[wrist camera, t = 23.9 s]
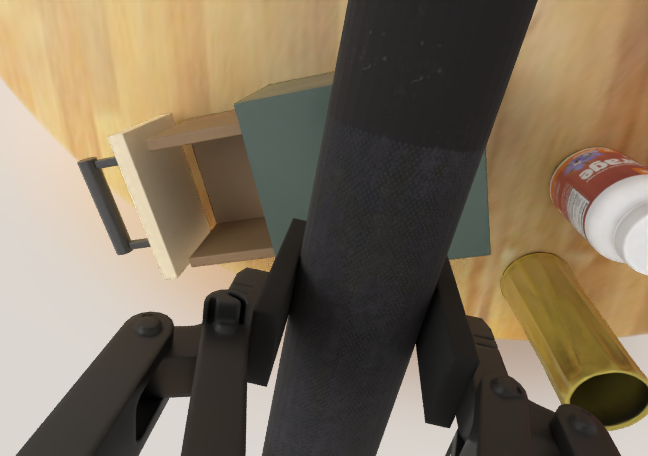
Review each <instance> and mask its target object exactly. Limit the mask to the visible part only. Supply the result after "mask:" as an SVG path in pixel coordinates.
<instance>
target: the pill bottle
mask: <svg viewBox="0 0 648 456" xmlns="http://www.w3.org/2000/svg"><path fill="white" fill-rule="evenodd" d="M550 197H551V200H552V202H553V204H554V206H555V207H556V208H557V209H558V211H559V212H560V213H561V214H562V215H563V216H564V217H565V218H566V219H567V220H568V221H569V222H570V223H571V224H572V225H573V226H574V228H575V229H576V230H577V231H578V232H579V233H580V234H581V235H582V236H583V237H584V238H585V239H586V240H587V241H588V243H589V244H590V245H591V246H592V247H593V248H594V249H595V250H596V251H597V252H598V253H600V254H601V255H602V256H604V257H606V258H608V259H610V260H613V261H616V262H620V263H626V264H627V265H629V266H630V267H631V268H632V269H634V270H635V271H637V272H639V273H641V274H645V275H648V168H647V167H645V166H643V165H641V164H639V163H638V162H636V161H634V160H632V159H630V158H629V157H627V156H625V155H623V154H621V153H619V152H617V151H615V150H613V149H609V148H604V147H593V148H587V149H584V150H581V151H578V152H576V153H574V154H572V155H571V156H569V157H568V158H566V159H565V160H564V161H563V162H562V163H561V164H560V165H559V166H558V167H557V169H556V170H555V172H554V173H553V176H552V178H551V182H550Z"/></svg>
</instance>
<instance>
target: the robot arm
mask: <svg viewBox="0 0 648 456" xmlns="http://www.w3.org/2000/svg"><path fill="white" fill-rule="evenodd" d="M305 226H306V221H305V220H300V219H296V218H293V220H292V222H291V224H290V226H289V229H288V231H287V233H286V236H285V238H284V240H283V243H282V245H281V247H280V250H279V252H278V254H277V256H276V259H275V261H274V263H273V266H272V268H271V270H270V272H265V271H261V270H256V269H252V268H245V269H244V270H242V271H241V272H239V273H237V275H236V277H235V279H234V281H233V283H232V284H231V286H230V288H229V289H228V290H218V291H215V292H212V293H211V294H209V295H208V296H207V297H206V299H205V301H204V310H203V322H202V324H199V325H195V326H174V324H173V321H172V319H170V318H169V317H168V316H167V315H165V314H162V313H159V312H158V313H157V312H145V313H140V314H137V315H135V316H132V317H131V318H130V319H129V320H127V321H126V322H125V323H124V325H123V326H122V327H121V328H120V330H119V331H118V332H117V333H116V334H115V336H114V337H113V338H112V339H111V340H110V342H109V343H108V344H107V345H106V347H105V348H104V349H103V350H102V352H101V353H100V354H99V355H98V356H97V357H96V359H95V360H94V361H93V362H92V364H91V365H90V366H89V367H88V368H87V370H86V371H85V372H84V373H83V374H82V376H81V377H80V378H79V379H78V381H77V382H76V383H75V384H74V385H73V387H72V388H71V389H70V390H69V392H68V393H67V394H66V395H65V396H64V398H63V399H62V400H61V401H60V402H59V404H58V405H57V406H56V407H55V408H54V410H53V411H52V412H51V413H50V415H49V416H48V417H47V418H46V419H45V421H44V422H43V423H42V424H41V425H40V427H39V428H38V429H37V430H36V432H35V433H34V434H33V435H32V436H31V438H30V439H29V440H28V441H27V442H26V444H25V445H24V446H23V447H22V449H21V450H20V451H19V452H18V454H17V455H16V456H139V454H140V452H141V450H142V448H143V446H144V444H145V442H146V441H147V439H148V437H149V435H150V433H151V431H152V429H153V428H154V426H155V424H156V422H157V420H158V418H159V417H160V415H161V413H162V411H163V409H164V407H165V405H166V403H167V402H168V400H169V398H170V397H190V396H191V397H190V404H189V409H188V415H187V422H186V428H185V434H184V440H183V446H182V453H181V456H245V453H246V407H247V406H246V405H247V404H246V403H247V382H248V383H253V384H257V385H261V386H267V384H268V381H269V377H270V374H271V371H272V368H273V364H274V361H275V358H276V355H277V351H278V348H279V345H280V341H281V338H282V335H283V331H284V328H285V325H286V322H287V318H288V315H289V311H290V305H291V300H292V295H293V290H294V284H295V279H296V274H297V268H298V263H299V258H300V253H301V247H302V242H303V237H304V232H305ZM494 340H495V339H494V336H493V333H492V331H491V329H490V327H489V326H488V325H487V324H486V323H485V322H484V321H483V319H481V318H477V317H472V316H468V315H466V314H465V311H464V308H463V304H462V301H461V298H460V295H459V291H458V288H457V285H456V282H455V278H454V275H453V272H452V268H451V265H450V262H449V259H448V255H447V257H446V259H445V262H444V265H443V268H442V271H441V273H440V276H439V279H438V282H437V285H436V288H435V290H434V293H433V296H432V299H431V302H430V304H429V307H428V310H427V313H426V316H425V318H424V321H423V324H422V327H421V330H420V333H419V335H418V338H417V341H416V350H417V358H418V366H419V374H420V382H421V390H422V399H423V407H424V414H425V423H428V424H433V425H437V426H442V427H447V428H450V427H451V424H452V422H453V420H454V418H455V416H456V418H457V423H458V429H457V431H456V434H455V436H454V438H453V440H452V442H451V444H450V447H449V449H448V451H447V453H446V455H445V456H450V454H451V456H621V455H620V453H619V451H618V449H617V447H616V446H615V444H614V442H613V440H612V438H611V437H610V435H609V433H608V431H607V429H606V428H605V427H604V425H603V424H602V423H601V421H600V420H599V419H597V418H596V417H595V416H594V415H593V414H592V413H590V412H588V411H587V410H585V409H583V408H581V407H578V406H576V405H573V404H563V405H560V406H559V407H558V409H557V410H556V412H553V411H551V410H549V409H546V408H544V407H542V406H540V405H538V404H536V403H534V402H532V401H530V400H528V397H527V394H526V391H525V390H524V388H523V387H522V386H521V384H520V383H518V382H517V381H516V380H515V379H513V378H512V377H510V376H508V373H507V371H506V368H505V365H504V363H503V360H502V357H501V355H500V352H499V350H498V347H497V344H496V342H495V341H494Z"/></svg>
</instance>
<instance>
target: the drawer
mask: <svg viewBox="0 0 648 456" xmlns="http://www.w3.org/2000/svg"><path fill="white" fill-rule="evenodd" d="M107 138H108V140H109V143H110V145H111V148H112V150H113V153H114V155H115V157H110V158H104V159H99V160H98V159H97V158H96V157H91V158H86V159H83V160H80V161H78V166H79V168H80V170H81V173H82V174H83V177H84V180H85V182H86V184H87V186H88V189H89V191H90V193H91V196H92V198H93V200H94V202H95V205H96V207H97V209H98V212H99V214H100V216H101V219H102V221H103V223H104V225H105V228H106V230H107V232H108V234H109V237H110V239H111V241H112V244H113V246H114V248H115V250H116V253H117V254H118V255H123V254H127V253H129V252H131V251H132V250H133V249H138V248H145V247H151V248H152V251H153V253H154V256H155V258H156V261H157V263H158V266H159V268H160V271H161V273H162V275H163V278H164V280H167V279H175V278H178V277H179V276H180V275H181V273H182V272H183V271H184V270H185V268H186V267H187V266H188V265H189V263H190V264H191V266H192V267H197V266H205V265H213V264H221V263H229V262H237V261H245V260H253V259H261V258H269V257H275V254H274V250H273V246H272V243H271V239H270V235H269V232H268V228H267V224H266V221H265V217H264V213H263V210H262V206H261V202H260V199H259V195H258V191H257V188H256V184H255V180H254V177H253V173H252V169H251V166H250V162H249V158H248V155H247V151H246V147H245V144H244V140H243V136H242V133H241V129H240V125H239V122H238V118H237V114H236V111H235V110H232V111H227V112H222V113H217V114H211V115H206V116H201V117H196V118H191V119H187V120H185V121H183V122H181V123H179V124H177V125H175V122H174V119H173V116H172V113H168V114H163V115H159V116H156V117H154V118H151V119H149V120H146V121H144V122H142V123H139V124H137V125H134V126H132V127H129V128H127V129H125V130H122V131H120V132H117V133H115V134H112V135H110V136H108V137H107ZM186 144H192V147H193V150H194V153H195V156H196V160H197V163H198V166H199V169H200V172H201V175H202V178H203V181H204V184H205V187H206V191H207V194H208V197H209V200H210V203H211V206H212V209H213V212H214V215H215V219H216V222H217V224H216V225H215V227H214V228H213V229H212V230H211V231H210V228H209V225H208V221H207V218H206V215H205V212H204V209H203V206H202V203H201V200H200V197H199V194H198V191H197V188H196V185H195V182H194V179H193V176H192V173H191V170H190V167H189V164H188V161H187V158H186V155H185V152H184V149H183V146H182V145H186ZM117 165H119V168H120V170H121V173H122V175H123V178H124V180H125V183H126V185H127V188H128V191H129V193H130V196H131V198H132V201H133V203H134V206H135V208H136V211H137V213H138V215H139V218H140V221H141V223H142V226H143V228H144V231H145V233H146V236H147V238H146V239H139V240H132V241H131V239H130V237H129V234H128V232H127V229H126V227H125V224H124V222H123V220H122V217H121V215H120V212H119V210H118V208H117V205H116V203H115V200H114V198H113V196H112V193H111V191H110V188H109V186H108V184H107V181H106V179H105V176H104V174H103V171H102V169H101V168H105V167H111V166H117Z"/></svg>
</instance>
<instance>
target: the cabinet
mask: <svg viewBox="0 0 648 456" xmlns="http://www.w3.org/2000/svg"><path fill="white" fill-rule="evenodd" d="M334 74H335V72H330V73H325V74H320V75H315V76H310V77H305V78H300V79H295V80H290V81H285V82H280V83H275V84H270V85H267V86H266V87H264V88H262V89H260V90H258V91H257V92H255V93H253V94H251V95H249V96H247V97H246V98H244V99H242V100H240V101H238V102H237V103H235V104H234V107H235V111H236V114H237V118H238V122H239V125H240V129H241V133H242V136H243V140H244V144H245V147H246V151H247V155H248V158H249V162H250V166H251V169H252V173H253V177H254V180H255V184H256V188H257V191H258V195H259V199H260V202H261V206H262V210H263V213H264V217H265V221H266V224H267V228H268V232H269V235H270V239H271V243H272V246H273V250H274V254H275V257H276V256H277V254H278V252H279V250H280V247H281V245H282V243H283V240H284V238H285V236H286V233H287V231H288V229H289V226H290V224H291V222H292V220H293V218H296V219H300V220H305V221H307V216H308V211H309V205H310V200H311V195H312V190H313V184H314V179H315V174H316V168H317V163H318V158H319V153H320V147H321V142H322V137H323V132H324V126H325V121H326V116H327V111H328V105H329V100H330V95H331V90H332V84H333V79H334ZM490 254H491V249H490V228H489V208H488V187H487V167H486V147H485V150H484V152H483V155H482V158H481V161H480V164H479V167H478V169H477V172H476V175H475V178H474V181H473V183H472V186H471V189H470V192H469V195H468V198H467V200H466V203H465V206H464V209H463V212H462V214H461V217H460V220H459V223H458V226H457V228H456V231H455V234H454V237H453V240H452V243H451V245H450V248H449V251H448V254H447V255H448V259H449V260H450V259H459V258H467V257H476V256H485V255H490Z"/></svg>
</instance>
